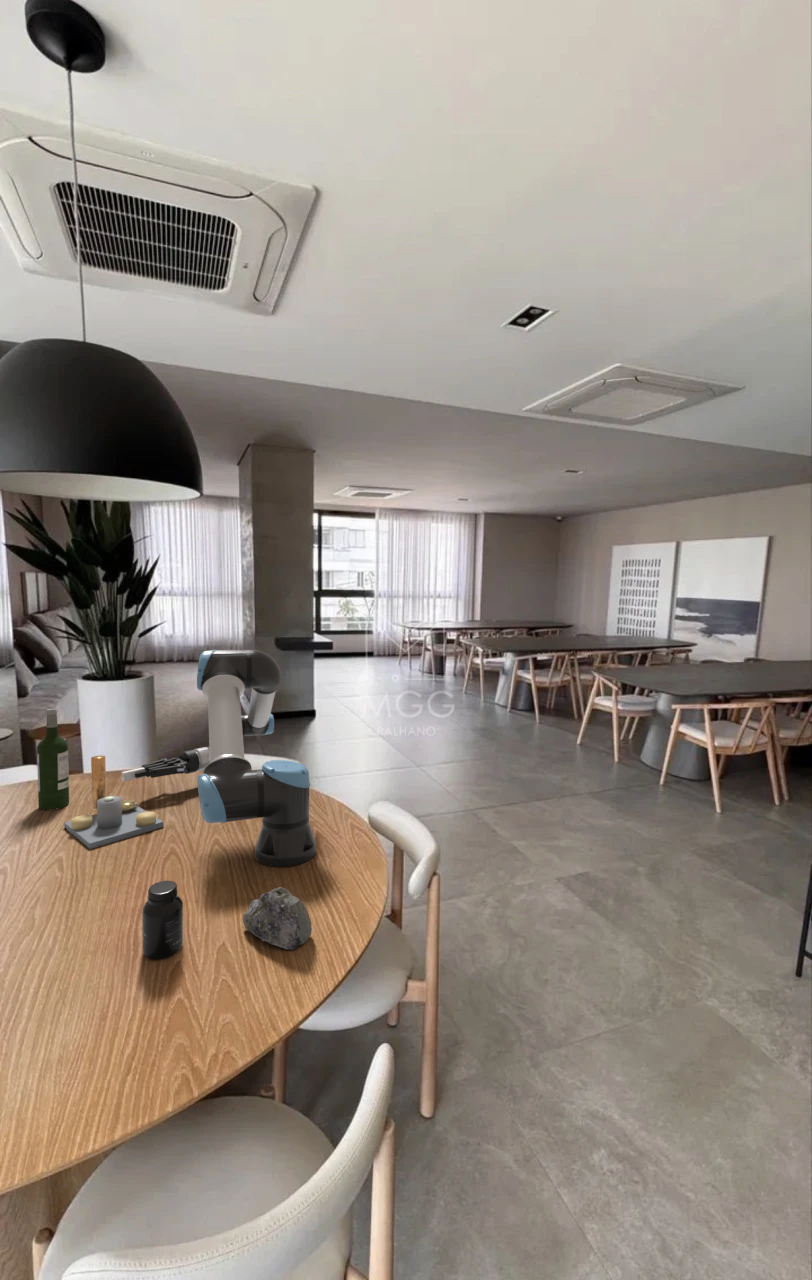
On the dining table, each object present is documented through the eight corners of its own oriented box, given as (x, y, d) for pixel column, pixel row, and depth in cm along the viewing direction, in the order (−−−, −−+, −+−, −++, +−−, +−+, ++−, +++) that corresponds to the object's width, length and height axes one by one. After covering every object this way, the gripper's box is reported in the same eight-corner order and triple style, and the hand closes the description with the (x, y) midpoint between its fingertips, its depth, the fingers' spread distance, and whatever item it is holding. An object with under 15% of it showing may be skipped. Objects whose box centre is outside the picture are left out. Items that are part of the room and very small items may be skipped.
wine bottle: (69, 807, 166) (67, 710, 164) (38, 812, 161) (35, 712, 159) (68, 799, 172) (66, 705, 170) (38, 803, 168) (35, 708, 166)
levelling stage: (163, 826, 153) (163, 795, 152) (89, 849, 139) (89, 814, 138) (134, 808, 166) (134, 779, 165) (64, 827, 151) (63, 795, 150)
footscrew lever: (141, 806, 163) (140, 755, 162) (132, 812, 158) (132, 760, 157) (97, 805, 163) (96, 754, 162) (88, 811, 158) (87, 759, 157)
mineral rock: (240, 926, 108) (240, 877, 107) (291, 910, 114) (291, 864, 113) (261, 963, 97) (261, 909, 96) (317, 943, 103) (317, 892, 102)
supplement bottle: (133, 955, 98) (132, 891, 97) (163, 934, 105) (162, 874, 104) (163, 965, 96) (162, 900, 95) (191, 943, 102) (190, 881, 101)
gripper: (204, 775, 181) (132, 794, 163) (185, 767, 189) (114, 783, 171) (204, 753, 181) (131, 769, 163) (185, 746, 189) (113, 760, 171)
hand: (122, 776), depth 167 cm, fingers closed
